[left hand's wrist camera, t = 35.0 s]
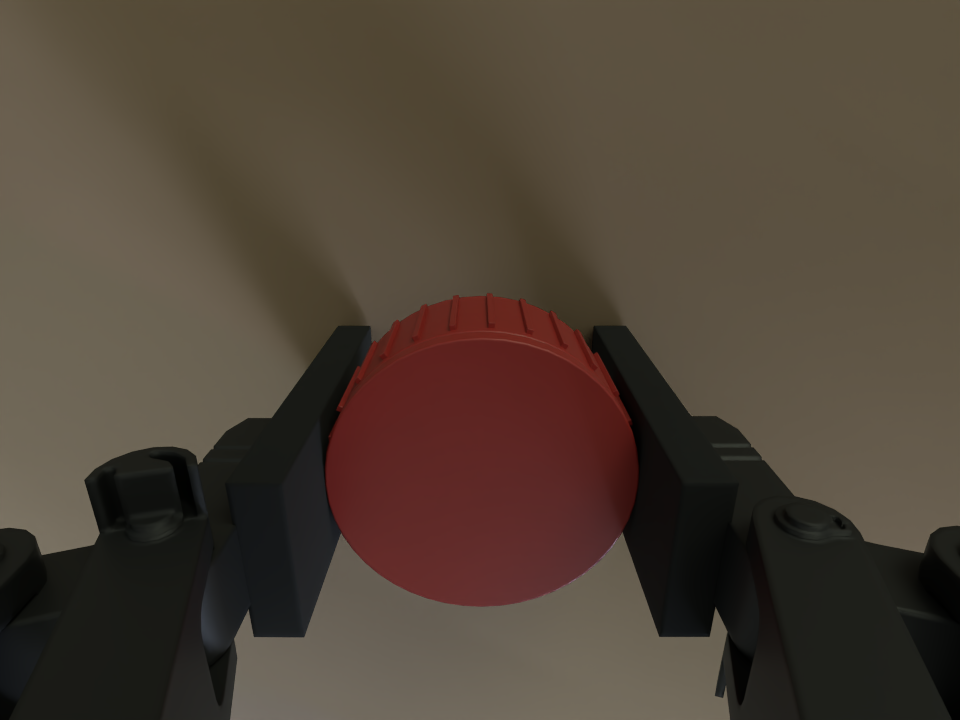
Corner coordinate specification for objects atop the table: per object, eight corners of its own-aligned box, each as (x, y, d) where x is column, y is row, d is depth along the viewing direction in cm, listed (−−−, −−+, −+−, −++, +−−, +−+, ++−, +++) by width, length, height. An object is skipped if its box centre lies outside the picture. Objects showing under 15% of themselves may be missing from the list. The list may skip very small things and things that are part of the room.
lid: (656, 460, 13) (694, 534, 10) (437, 563, 14) (429, 651, 11) (535, 238, 11) (550, 269, 9) (294, 376, 12) (252, 435, 10)
